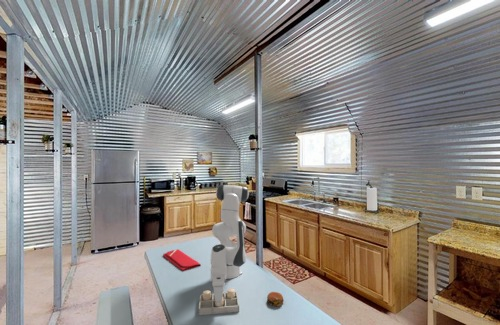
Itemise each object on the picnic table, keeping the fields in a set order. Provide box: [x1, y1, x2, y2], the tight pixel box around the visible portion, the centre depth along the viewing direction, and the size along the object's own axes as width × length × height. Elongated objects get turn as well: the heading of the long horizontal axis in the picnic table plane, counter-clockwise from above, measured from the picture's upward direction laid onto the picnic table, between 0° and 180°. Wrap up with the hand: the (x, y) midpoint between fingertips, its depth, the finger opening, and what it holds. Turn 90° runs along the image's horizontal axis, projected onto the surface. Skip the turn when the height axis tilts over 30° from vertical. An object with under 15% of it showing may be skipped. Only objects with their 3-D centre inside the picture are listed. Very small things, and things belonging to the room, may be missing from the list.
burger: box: [267, 291, 284, 307], centre depth 140 cm, size 10×9×5 cm
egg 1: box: [202, 290, 212, 301], centre depth 139 cm, size 5×5×6 cm
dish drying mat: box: [162, 249, 202, 272], centre depth 201 cm, size 16×41×4 cm, turn 41°
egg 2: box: [215, 297, 223, 307], centre depth 133 cm, size 5×5×6 cm
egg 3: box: [226, 288, 236, 299], centre depth 140 cm, size 5×5×6 cm
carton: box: [198, 291, 240, 316], centre depth 136 cm, size 15×22×4 cm
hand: (218, 299), depth 133 cm, fingers open, 8 cm apart
